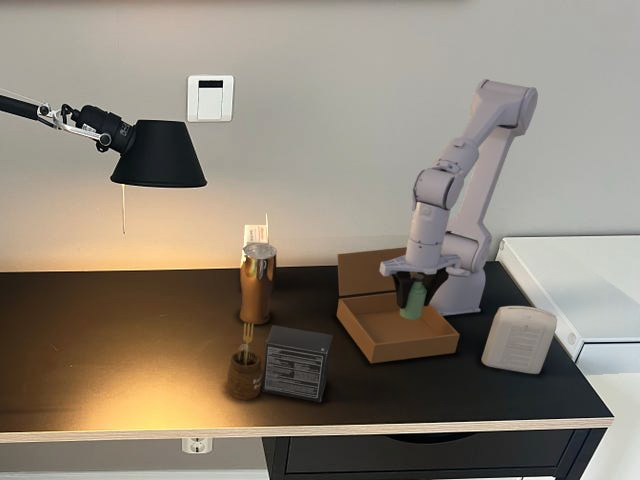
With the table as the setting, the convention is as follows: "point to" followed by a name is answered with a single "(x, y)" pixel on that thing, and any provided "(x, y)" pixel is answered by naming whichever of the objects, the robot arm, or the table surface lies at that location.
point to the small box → (296, 363)
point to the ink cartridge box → (256, 234)
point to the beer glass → (257, 281)
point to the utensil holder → (245, 371)
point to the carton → (395, 329)
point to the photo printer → (519, 339)
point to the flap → (366, 271)
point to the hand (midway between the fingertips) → (412, 304)
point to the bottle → (415, 299)
